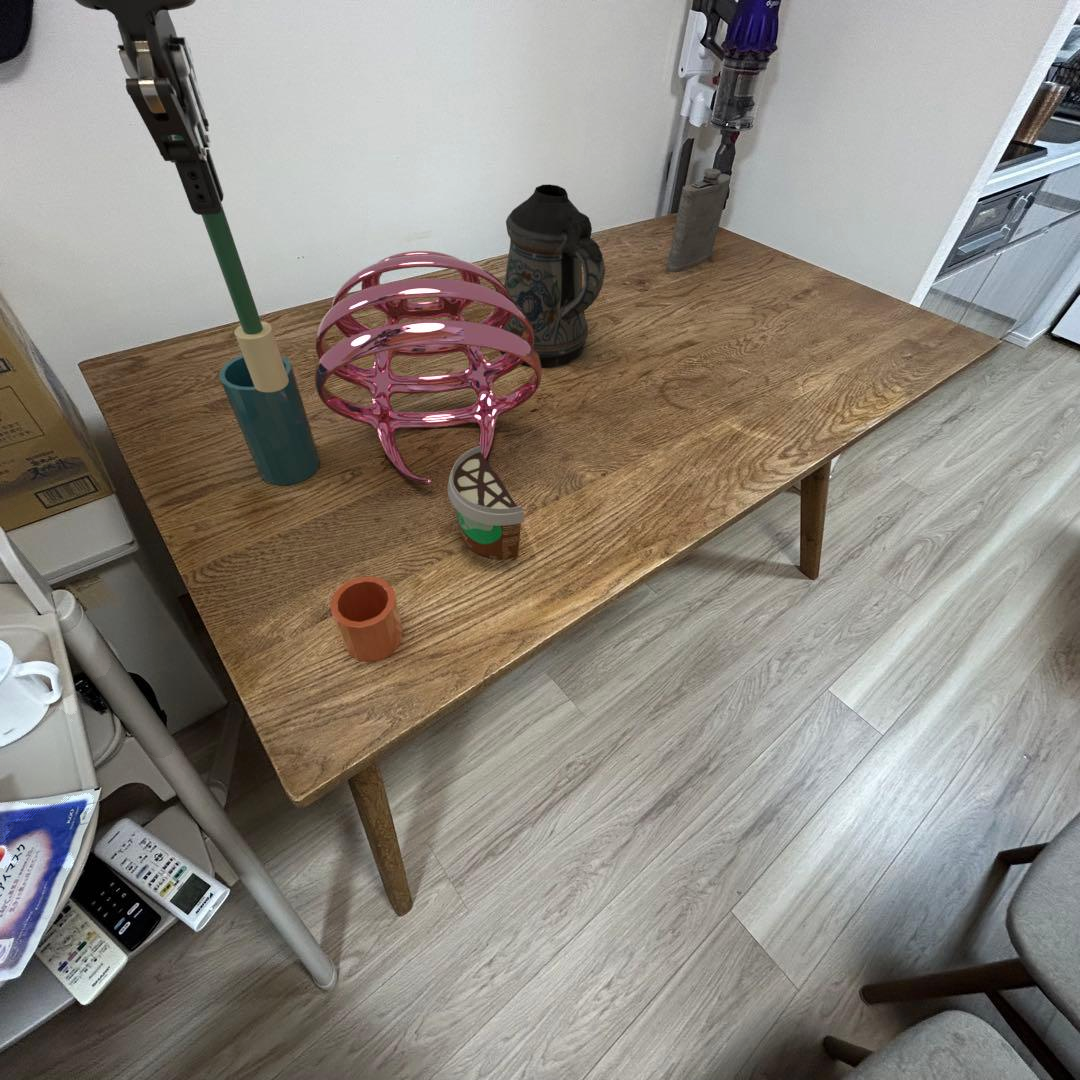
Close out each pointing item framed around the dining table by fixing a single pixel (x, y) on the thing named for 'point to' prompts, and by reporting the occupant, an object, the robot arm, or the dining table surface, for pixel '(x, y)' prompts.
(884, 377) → the dining table surface
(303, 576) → the dining table surface
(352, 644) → the cup
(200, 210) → the robot arm
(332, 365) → the spiral basket
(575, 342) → the beer stein
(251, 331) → the bottle brush
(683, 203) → the flask
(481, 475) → the food container
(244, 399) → the teal cylindrical cup
